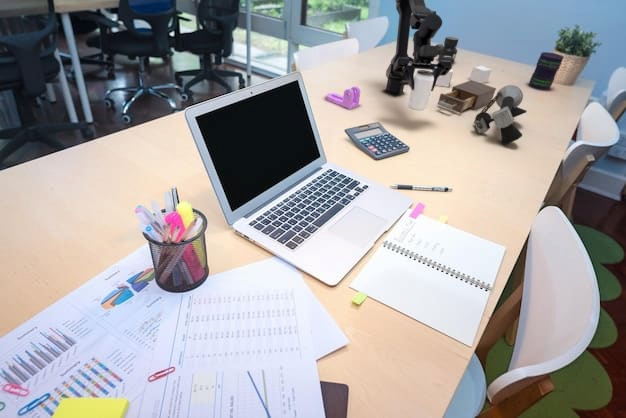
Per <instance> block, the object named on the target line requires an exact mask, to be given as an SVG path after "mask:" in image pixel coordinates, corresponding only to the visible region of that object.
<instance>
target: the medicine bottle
mask: <svg viewBox="0 0 626 418" xmlns="http://www.w3.org/2000/svg"><path fill="white" fill-rule="evenodd" d="M440 60H446V61H451V63H452V67H453V66H454V63H455V61H454V59H453V58H452V57H449V56H443V57H441V58H440ZM453 62H454V63H453ZM453 73H454V70H453V68H452V69H451V70H450V71H449V72H448V73H447V74H446V75H444V76H441V75H440V76H439V77H438V78H437V81H436V84H435V86H439V87H444V88H445V87H446V88H449V87H450V84H451V80H452V78H453Z"/></svg>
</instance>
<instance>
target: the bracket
mask: <svg viewBox="0 0 626 418" xmlns="http://www.w3.org/2000/svg"><path fill="white" fill-rule="evenodd" d="M360 97H361V89H360V87H359V86H357V85H355V86H353V87H351V88H347V89H345V90H344V91H343V95H341V94H338V93H336V92H335V93H334V92H331V93H327V94H326V100H327V101H328V102H331V103H334V104H336V105H338V106H341V107H344V108H346V109H349V110H351V109H354V108H356V107H358V106H359V104H360Z"/></svg>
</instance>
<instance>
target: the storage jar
mask: <svg viewBox="0 0 626 418" xmlns="http://www.w3.org/2000/svg"><path fill="white" fill-rule="evenodd" d="M564 58H565V57H564V56H563V55H561V54H559V53H555V52H541V53H540V56H539V57H538V60H537V62H536V67H535V68H534V71H533V73H532V75H531V76H530V79H529V82H528V87H530V88H531V89H535V90H537V91H550V89H551V87H552V85H553V83H554V80H555V77H556V75H557V72H558V71H559V69H560V67H561V65H562V62H563V60H564Z"/></svg>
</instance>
